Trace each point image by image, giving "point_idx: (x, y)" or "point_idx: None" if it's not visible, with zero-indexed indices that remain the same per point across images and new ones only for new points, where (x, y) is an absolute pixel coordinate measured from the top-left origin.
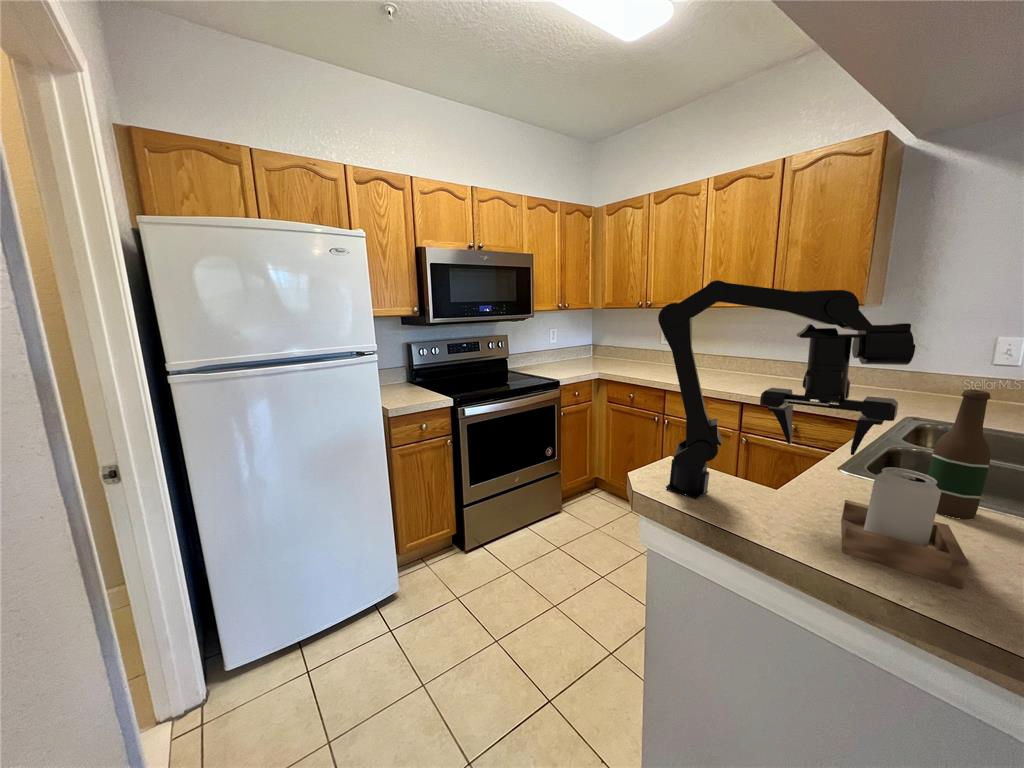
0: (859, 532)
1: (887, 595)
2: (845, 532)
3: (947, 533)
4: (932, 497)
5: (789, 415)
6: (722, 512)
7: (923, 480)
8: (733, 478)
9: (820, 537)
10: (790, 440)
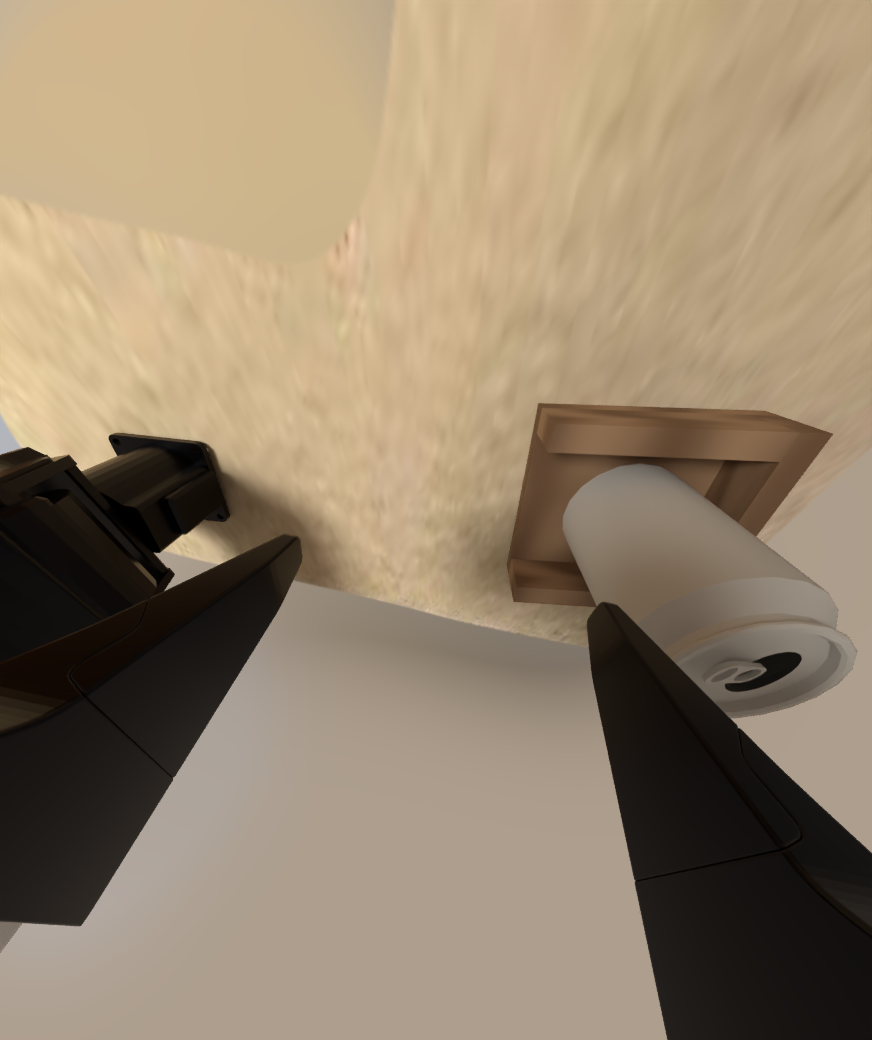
0: (535, 601)
1: (542, 632)
2: (513, 584)
3: (767, 503)
4: (740, 675)
5: (101, 771)
6: None
7: (830, 612)
8: (181, 238)
9: (476, 533)
10: (291, 579)
